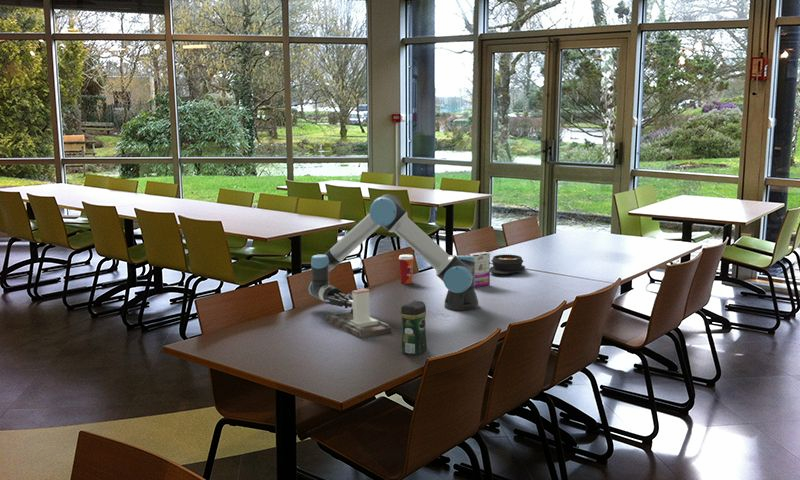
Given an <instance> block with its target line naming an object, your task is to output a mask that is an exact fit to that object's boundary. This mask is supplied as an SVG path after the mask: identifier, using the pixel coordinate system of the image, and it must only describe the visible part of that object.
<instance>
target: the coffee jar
mask: <svg viewBox="0 0 800 480" xmlns="http://www.w3.org/2000/svg"><path fill="white" fill-rule="evenodd" d="M426 307H427V306H426V303H424V301H420V300H413V301H410V302H408V303H405V304H403V305H401V307H400V316H401V324H402V325H401V329H402V330H401V352H402V353H403V354H405V355H419V354H421V353H424V352H425V351H426V350H427V348H428V346H427V343H428V342H427V333H426V332H427V329H426V316H427V309H426Z"/></svg>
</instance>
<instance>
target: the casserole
mask: <svg viewBox="0 0 800 480" xmlns="http://www.w3.org/2000/svg"><path fill="white" fill-rule="evenodd" d="M490 262H491V263H492V266H490V274H491V273H492V274H496V275H497V274H499V275H515V274H518V273H522V272H524V271H525V269H526V266H525V265H522V264H523V263H524V260H523V258H522V256H520V255H515V254H497V255H494V256H493V257H492V259H491V260H490Z"/></svg>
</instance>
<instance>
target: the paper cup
mask: <svg viewBox="0 0 800 480" xmlns="http://www.w3.org/2000/svg"><path fill="white" fill-rule="evenodd" d="M398 261H399V275H400V276H399V277H400V278H399V279H400V284H402V285H409V284H412V282H413V271H414V270H413V268H414V265H413V264H414V256H413V254H400V255H399V257H398Z"/></svg>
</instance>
